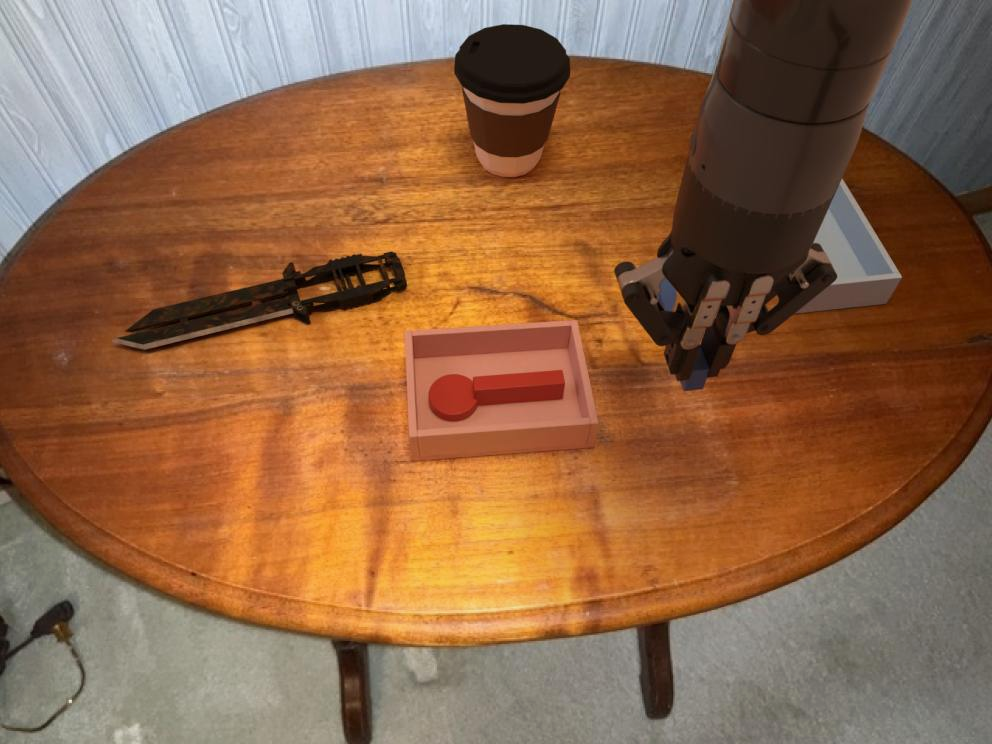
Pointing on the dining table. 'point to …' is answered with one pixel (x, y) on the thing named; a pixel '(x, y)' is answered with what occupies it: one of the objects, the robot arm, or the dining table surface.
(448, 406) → the red spoon
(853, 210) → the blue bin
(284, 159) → the dining table surface
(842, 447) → the dining table surface
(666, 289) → the blue spoon
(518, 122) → the coffee cup
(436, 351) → the rose bin
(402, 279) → the knife
